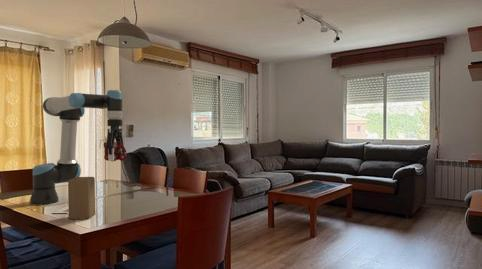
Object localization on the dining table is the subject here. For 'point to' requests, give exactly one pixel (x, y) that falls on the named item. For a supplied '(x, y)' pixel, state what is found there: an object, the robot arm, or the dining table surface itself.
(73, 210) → the wooden block
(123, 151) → the red patterned box
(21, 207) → the dining table surface
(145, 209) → the dining table surface
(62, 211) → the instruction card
